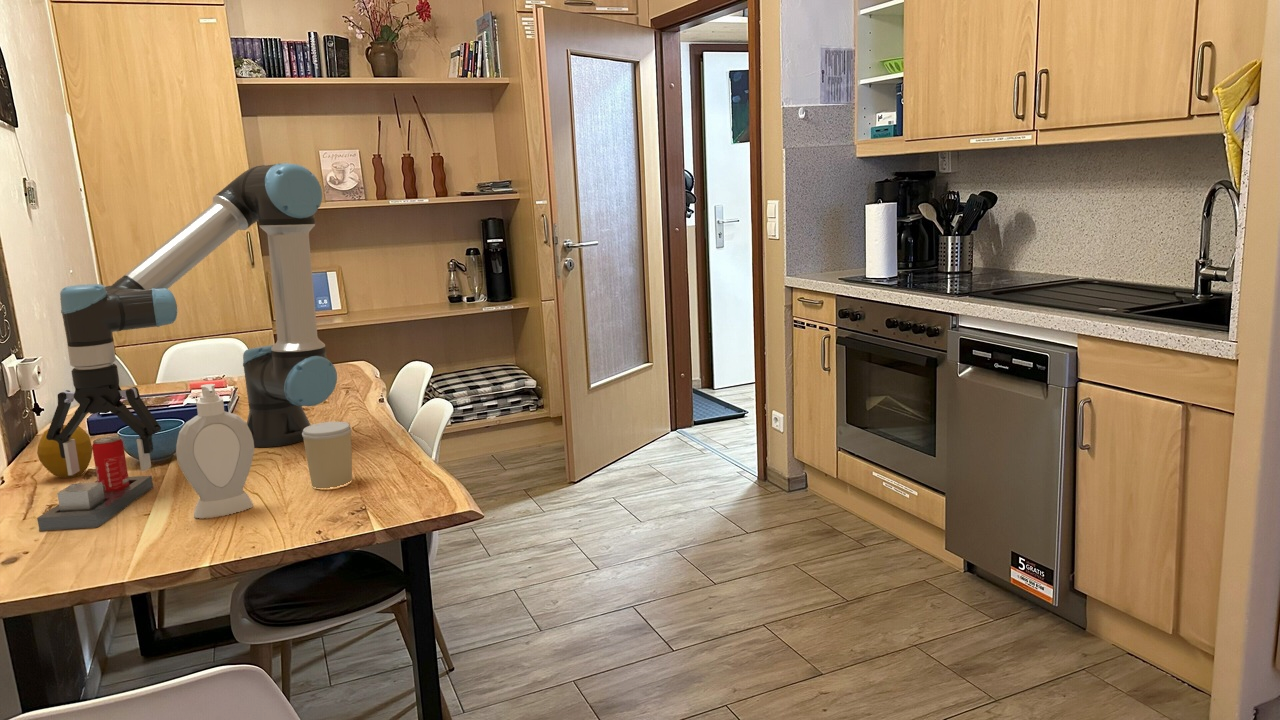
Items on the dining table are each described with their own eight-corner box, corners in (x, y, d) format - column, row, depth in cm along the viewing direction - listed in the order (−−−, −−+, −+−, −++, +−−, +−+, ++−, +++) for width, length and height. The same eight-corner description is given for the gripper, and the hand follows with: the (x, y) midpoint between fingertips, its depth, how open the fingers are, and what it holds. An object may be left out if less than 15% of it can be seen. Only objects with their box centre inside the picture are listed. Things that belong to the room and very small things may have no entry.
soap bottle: (187, 528, 155) (169, 395, 150) (184, 515, 161) (166, 387, 157) (265, 512, 162) (250, 384, 157) (259, 500, 168) (244, 377, 163)
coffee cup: (366, 478, 179) (360, 422, 177) (336, 493, 171) (330, 434, 168) (328, 475, 182) (322, 419, 180) (297, 489, 174) (291, 431, 171)
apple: (39, 487, 181) (30, 432, 178) (45, 474, 189) (36, 422, 187) (94, 478, 185) (85, 425, 183) (98, 467, 193) (90, 415, 191)
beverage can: (117, 502, 169) (107, 443, 167) (94, 501, 170) (84, 442, 168) (137, 493, 174) (128, 436, 172) (115, 492, 175) (106, 435, 173)
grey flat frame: (153, 487, 178) (149, 459, 177) (97, 527, 157) (92, 495, 156) (102, 490, 177) (97, 462, 176) (39, 531, 156) (33, 499, 155)
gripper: (170, 358, 172) (184, 461, 176) (37, 364, 170) (54, 469, 174) (152, 366, 165) (167, 473, 169) (13, 372, 163) (32, 481, 167)
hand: (110, 471), depth 171 cm, fingers open, 13 cm apart
